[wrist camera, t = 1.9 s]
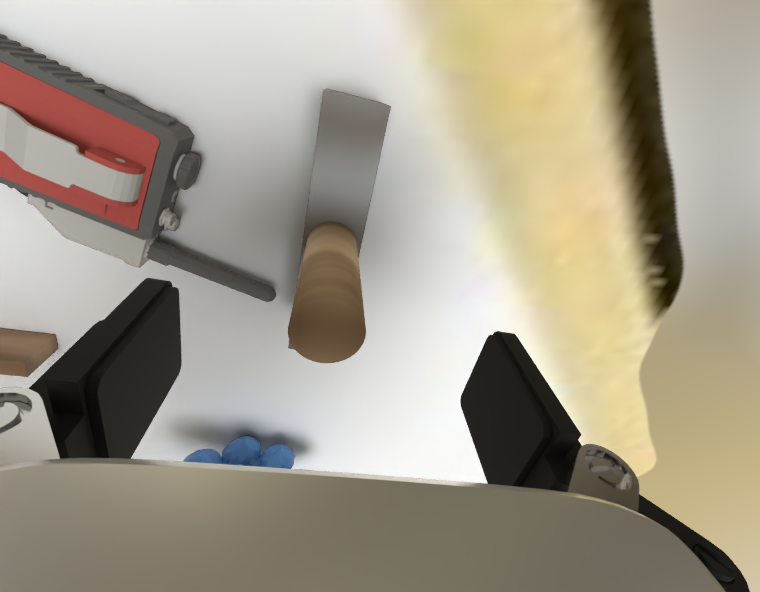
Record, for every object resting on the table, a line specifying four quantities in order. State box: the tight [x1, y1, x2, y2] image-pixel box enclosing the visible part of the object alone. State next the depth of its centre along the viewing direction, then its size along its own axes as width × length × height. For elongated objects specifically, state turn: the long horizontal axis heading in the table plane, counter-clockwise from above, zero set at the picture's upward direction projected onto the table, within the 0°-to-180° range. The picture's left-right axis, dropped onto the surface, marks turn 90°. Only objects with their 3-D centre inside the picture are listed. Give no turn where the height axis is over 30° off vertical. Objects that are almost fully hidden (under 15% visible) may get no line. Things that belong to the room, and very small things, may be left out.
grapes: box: [183, 436, 302, 470], centre depth 28 cm, size 12×7×12 cm, turn 71°
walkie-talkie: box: [0, 34, 276, 302], centre depth 20 cm, size 9×4×20 cm
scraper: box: [288, 89, 391, 363], centre depth 18 cm, size 14×3×13 cm, turn 167°
